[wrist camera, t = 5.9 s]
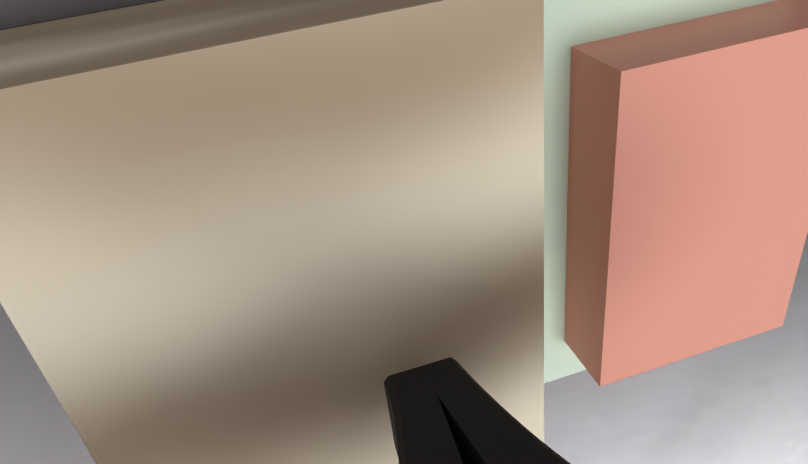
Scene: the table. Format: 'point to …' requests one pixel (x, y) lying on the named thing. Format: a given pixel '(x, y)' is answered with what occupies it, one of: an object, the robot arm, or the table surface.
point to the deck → (273, 218)
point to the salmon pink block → (685, 186)
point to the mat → (564, 27)
